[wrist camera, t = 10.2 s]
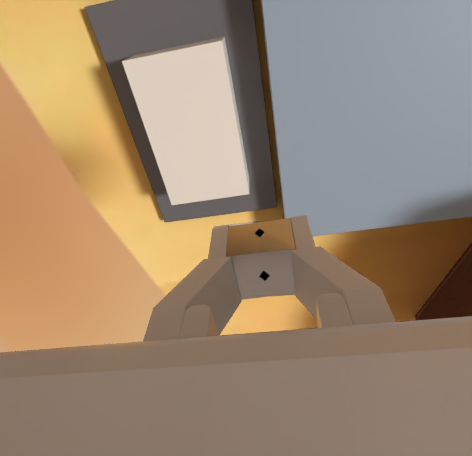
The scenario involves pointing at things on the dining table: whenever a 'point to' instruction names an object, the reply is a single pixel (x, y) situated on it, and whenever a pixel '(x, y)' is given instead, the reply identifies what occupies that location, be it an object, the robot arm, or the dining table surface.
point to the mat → (181, 33)
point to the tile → (191, 119)
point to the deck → (371, 110)
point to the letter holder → (452, 293)
